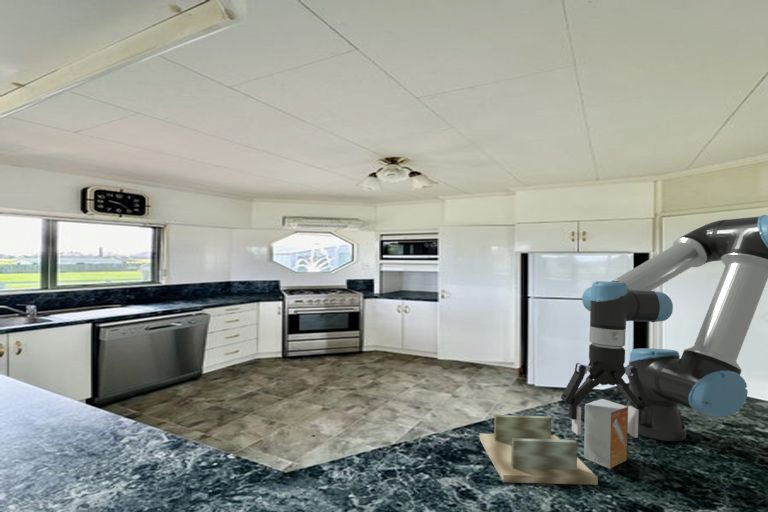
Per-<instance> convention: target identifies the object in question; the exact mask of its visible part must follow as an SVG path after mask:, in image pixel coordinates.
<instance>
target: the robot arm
mask: <svg viewBox="0 0 768 512" xmlns="http://www.w3.org/2000/svg"><path fill="white" fill-rule="evenodd" d="M718 261H721V262H722V263H723V265H724V269H723V272H722V274H721V277H720V279H719V282H718V283H717V287H716V289H715V292H714V294H713V296H712V299H711V301H710V304H709V307H708V309H707V312H706V313H705V317H704V320H703V322H702V325H701V326H700V329H699V332H698V335H697V337H696V340H695V342H694V345H693V346H691V347H689V348H684V349H683V352H682V354H681V355H680V353H679V351H677V350H675V349H667V348H666V349H665V348H649V347H648V348H646V347H645V348H644V347H643V348H641V347H640V348H634V349H632V350H631V351H630V353H629V361H628V364H627V365H626V366H624V364H625V363H626V349H625V348H624V346H626V330H627V322H649V323H650V322H651V323H656V322H664V321H667V320H668V319H669V318H670V317H671V316H672V314H673V310H674V309H673V307H674V303H673V301H672V299H671V298H670V297H669V295H668V294H666V293H664V292H662V291H655V289H656V288H659V287H660V286H661V285H664V284H665V283H667V282H668V281H671V280H672V279H674V278H676V277H677V276H679V275H681V274H682V273H684V272H686V271H687V270H690V268H698V267H700V268H701V267H702V266H703V265H705V264H707V263H713V262H718ZM767 282H768V215H767V214H762V215H760V216H753V217H752V216H751V217H750V216H749V217H741V218H730V219H719V220H717V221H716V220H715V221H712V222H710V223H707V224H705V225H701V226H700V227H698V228H695V229H694V230H692V231H690V232H688V233H685V234H684V235H682V236H681V237H679V238H677V239H676V240H675V241H674V242H673V244H672V246H670V247H668V248H666V249H665V250H664V251H662V252H660V253H658V254H656V255H654V256H653V257H651V258H650V259H648V260H646V261H644V262H643V263H641V264H639V265H637V266H636V267H634V268H632V269H630V270H628V271H627V272H625V273H623V274H622V275H620V276H618V277H617V278H615V279H613V280H611V281H602V280H596V281H593V282H592V284H591V286H590V287H587V288H586V289H585V290H584V291H583V293H582V297H581V301H582V305H583V307H584V308H585V309H586V310H587V311H588V312H590V313H589V315H590V316H589V318H590V319H589V337H588V338H589V342H590V344H589V346H588V359H589V363H588V364H587V365H586V364H582V363H580V362H577V363H575V368H574V371H573V373H572V376H571V378H570V379H569V382H568V384H567V385H566V387H565V388H564V390H563V393H562V395H561V397H560V399H561V400H562V401H563V402H565V403H566V404H567V405H568V417H569V418H570V419H571V431H572V432H573V433H575V435H577V436H581V433H582V432H581V429H582V428H581V425H582V407H581V406H580V403H582V402H583V401H584V400H585V398H586V397H588V395H589V394H590V393H591V392H592V391H593V389H595V388H596V387H598V386H599V385H601V386H606V385H610V386H615V385H616V387H618V389H619V390H620V392H622V394H623V395H624V397H625V398H626V399H627V402H626V405H625V406H627V407H628V416H627V434H628V435H630V436H632V437H633V438H635V439H636V438H637V439H639V438H638V437H639V436H643V437H646V438H650V439H653V440H658V441H659V440H660V441H665V442H681V441H684V440H686V439H687V428H686V425H685V422H684V419H683V417H682V414H681V410H680V409H679V408H680V407H679V405H681V406H684V407H686V408H689V409H691V410H694V411H696V412H697V413H700V414H705V415H708V416H710V417H713V418H714V417H715V418H727V417H728V416H732V415H734V414H736V413H738V411H739V410H741V409H742V407H743V406H744V405H745V403H746V400H747V397H748V393H749V392H748V389H747V387H748V386H747V385H748V383H747V382H746V380H745V379H744V378H743V376H741V374H742V368H741V367H740V365H739V364H738V363H737V360H738V358H739V354H740V352H741V349H742V347H743V344H744V342H745V339H746V337H747V334H748V332H749V329H750V326H751V324H752V320H753V319H754V316H755V313H756V310H757V308H758V305H759V302H760V300H761V298H762V295H763V292H764V290H765V287H766V284H767ZM588 372H589V375H588V376H587V377H586V378H585V375H586V374H588ZM624 375H626V376H627V379H628V383H629V384H628V385H627V383H626V381H625V380H624V379H623V376H624ZM584 378H585V380H584ZM583 380H584V382H583ZM582 382H583V383H582ZM581 383H582V384H581Z"/></svg>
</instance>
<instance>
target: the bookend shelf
mask: <svg viewBox="0 0 768 512" xmlns="http://www.w3.org/2000/svg"><path fill="white" fill-rule="evenodd" d="M493 422H494V423H493V426H494V427H493V429H494V430H493V433H479V441H480V442H481V444H482V446H483V448H484V450H485V452H486V453H487V456H488V457H489V459H490V461H491V463H492V464H493V466H494V468H495V471H497V473H498V475H499V477H500V480H501V481H502V482H503V483H514V484H515V483H519V484H520V483H521V484H523V483H524V484H525V483H526V484H554V485H555V484H557V485H560V484H561V485H589V484H590V486H592V485H594V486H595V485H596V486H597V485H599V484H598V476H597V475H596V474H595V473H594V472H593V471H592V470H591V469H590V468H589V467H588V466H586V464H585V463H584V462H583V461H582V460H581V459H580V458H579V457H578V442H577V441H576V440H575V439H560V438H558V436H556V435H554V434H553V435H552V418H551V416H548V415H509V414H508V415H507V414H495V415H494V421H493Z"/></svg>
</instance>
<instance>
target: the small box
mask: <svg viewBox="0 0 768 512" xmlns="http://www.w3.org/2000/svg"><path fill="white" fill-rule="evenodd" d="M627 416H628V407H627V406H626V405H624V404H620V403H618V402H613V401H611V400H607V399H604V398H600V399H597V400H593V401H591V402H588V403H585V404H584V430H583V431H584V437H583V438H584V441H583V442H584V443H583V458H584V459H586V460H589V461H591V462H593V463H595V464H597V465H600V466H602V467H604V468H607V469H610V470H611V469H613V468H615V467H616V466H617V465H620V464H622V463H624V462H626V461H627V459H628V458H627V456H628V455H627V453H628V451H627V450H628V433H627V430H628V429H627Z"/></svg>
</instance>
